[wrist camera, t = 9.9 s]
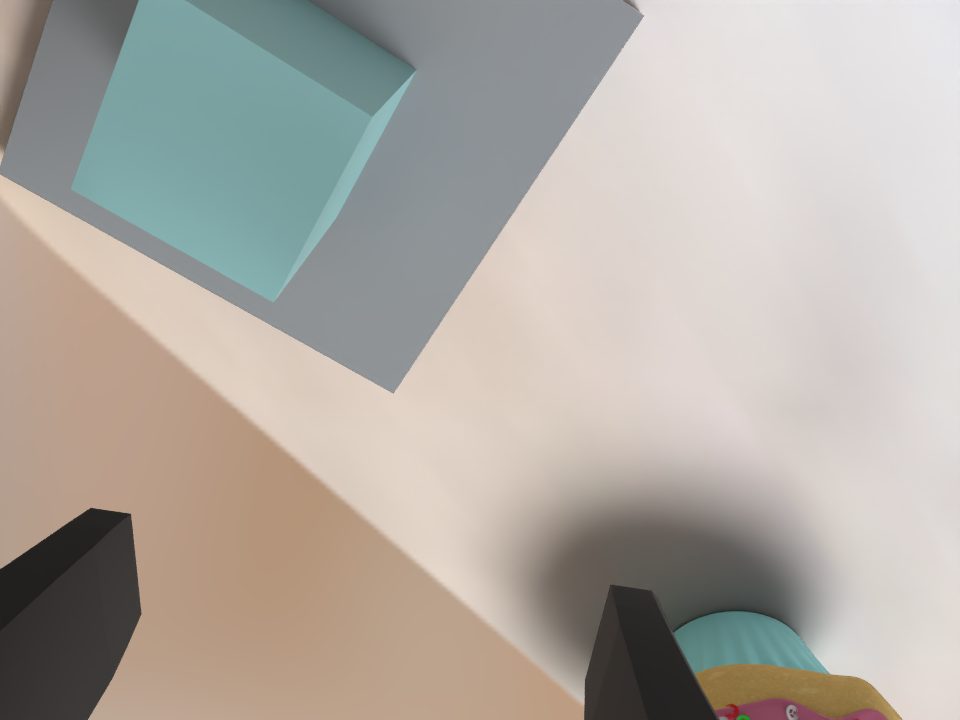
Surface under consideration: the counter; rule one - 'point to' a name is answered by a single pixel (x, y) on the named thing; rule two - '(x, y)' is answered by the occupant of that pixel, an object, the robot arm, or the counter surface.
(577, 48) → the slate coaster
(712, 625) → the cupcake
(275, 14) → the teal block
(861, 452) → the counter surface
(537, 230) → the counter surface
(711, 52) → the counter surface
